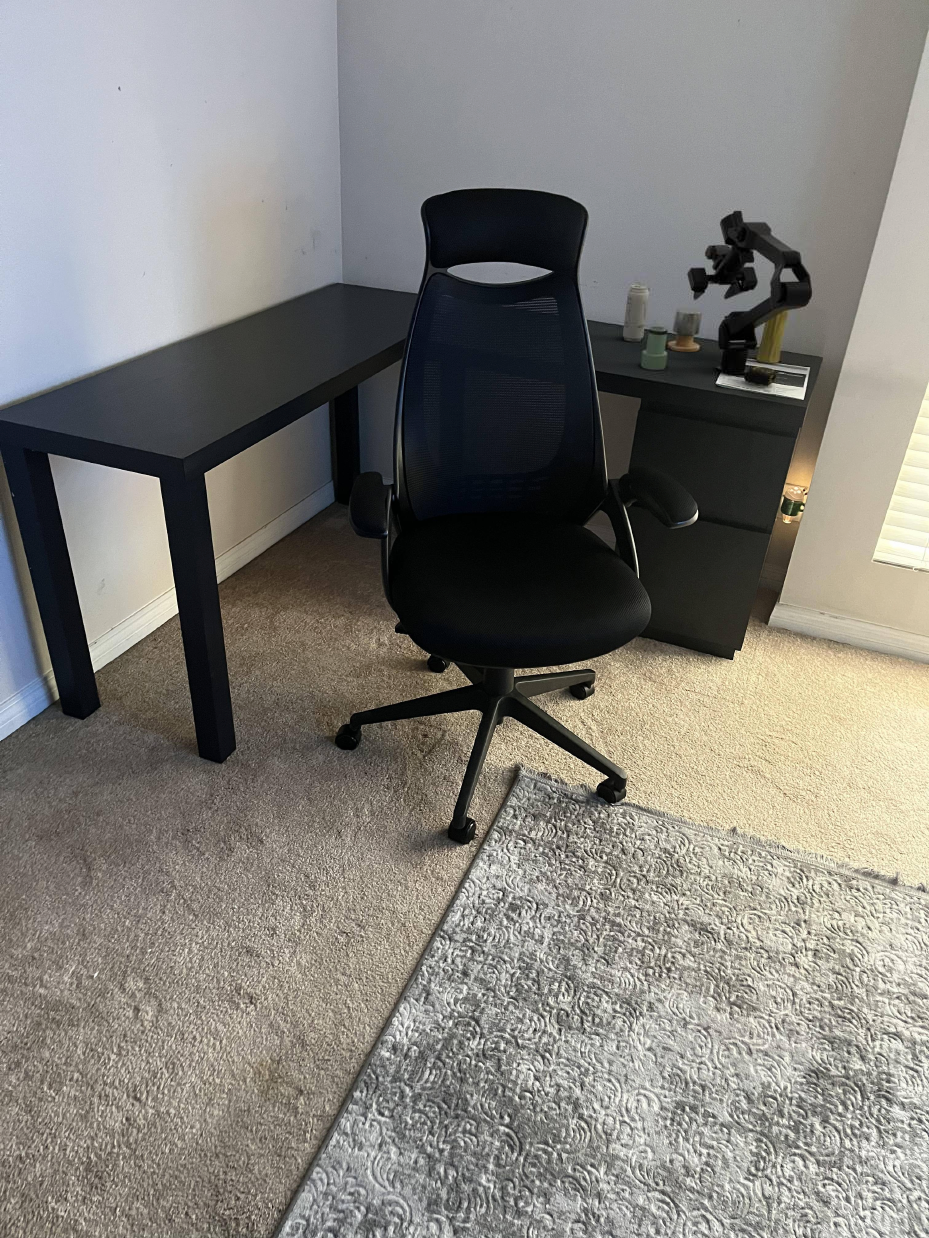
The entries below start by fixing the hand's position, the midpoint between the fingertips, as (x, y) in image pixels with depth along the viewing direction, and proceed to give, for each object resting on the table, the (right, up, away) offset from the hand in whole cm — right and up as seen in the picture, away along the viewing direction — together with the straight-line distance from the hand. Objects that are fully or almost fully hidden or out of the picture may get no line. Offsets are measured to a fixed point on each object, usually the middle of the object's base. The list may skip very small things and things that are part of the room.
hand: (709, 298), depth 244 cm
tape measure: (+8, -29, -17) cm, 35 cm away
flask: (-17, -21, -6) cm, 27 cm away
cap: (-4, -7, +8) cm, 12 cm away
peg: (-5, -10, +11) cm, 16 cm away
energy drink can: (-18, -6, +17) cm, 26 cm away
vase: (+17, -17, +2) cm, 24 cm away
